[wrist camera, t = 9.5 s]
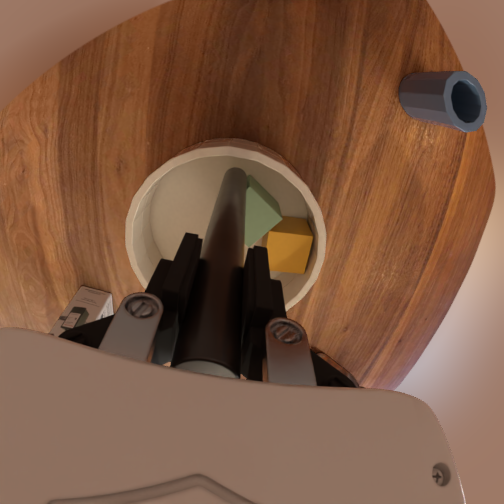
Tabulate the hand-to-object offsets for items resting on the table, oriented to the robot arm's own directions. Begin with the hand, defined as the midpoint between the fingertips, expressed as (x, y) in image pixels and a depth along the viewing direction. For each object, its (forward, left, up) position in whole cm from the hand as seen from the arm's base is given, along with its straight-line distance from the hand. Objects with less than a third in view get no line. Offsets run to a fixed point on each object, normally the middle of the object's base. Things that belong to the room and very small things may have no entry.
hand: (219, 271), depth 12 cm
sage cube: (+2, +2, -17) cm, 17 cm away
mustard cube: (+5, +6, -17) cm, 18 cm away
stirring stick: (0, 0, -15) cm, 15 cm away
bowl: (+5, 0, -17) cm, 18 cm away
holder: (-13, +16, -17) cm, 27 cm away
